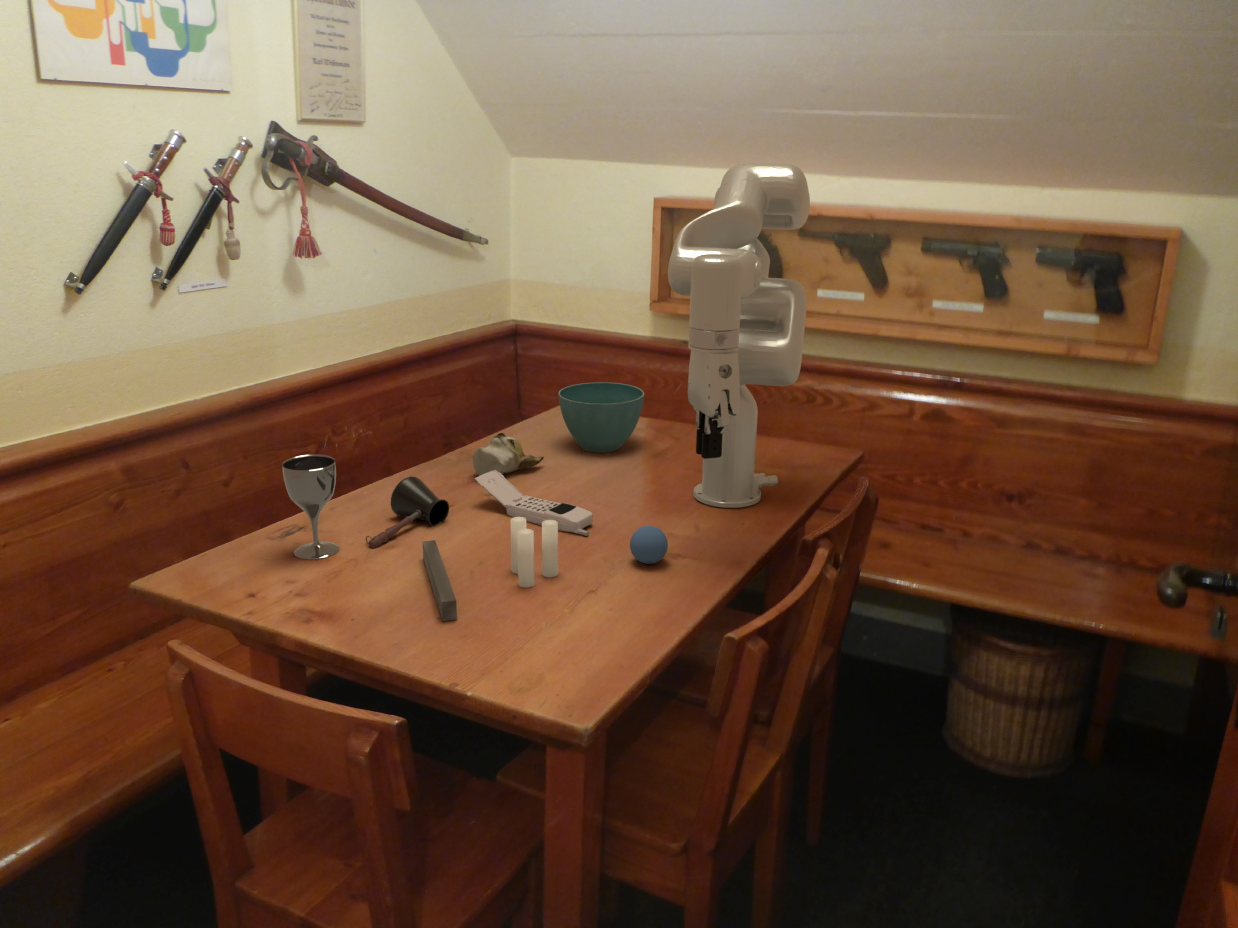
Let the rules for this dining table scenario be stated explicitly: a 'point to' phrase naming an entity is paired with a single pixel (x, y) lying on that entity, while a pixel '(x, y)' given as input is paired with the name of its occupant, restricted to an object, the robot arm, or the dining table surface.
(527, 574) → the pin
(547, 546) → the front pin
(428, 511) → the coffee pot
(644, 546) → the ball
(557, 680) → the dining table surface
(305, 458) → the silver goblet
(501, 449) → the ceramic sculpture
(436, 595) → the back wall
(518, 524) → the pin
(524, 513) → the mobile phone
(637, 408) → the teal bowl
